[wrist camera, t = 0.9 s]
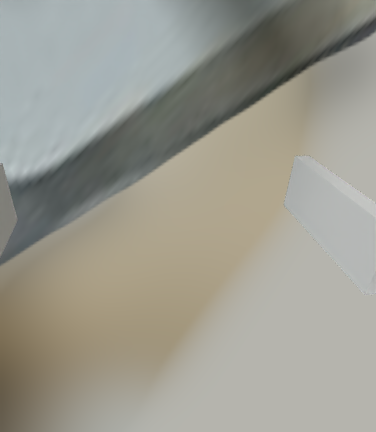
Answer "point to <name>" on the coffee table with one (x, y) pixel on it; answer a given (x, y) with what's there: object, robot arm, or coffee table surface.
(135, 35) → the coffee table surface
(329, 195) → the robot arm
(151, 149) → the coffee table surface
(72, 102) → the coffee table surface
